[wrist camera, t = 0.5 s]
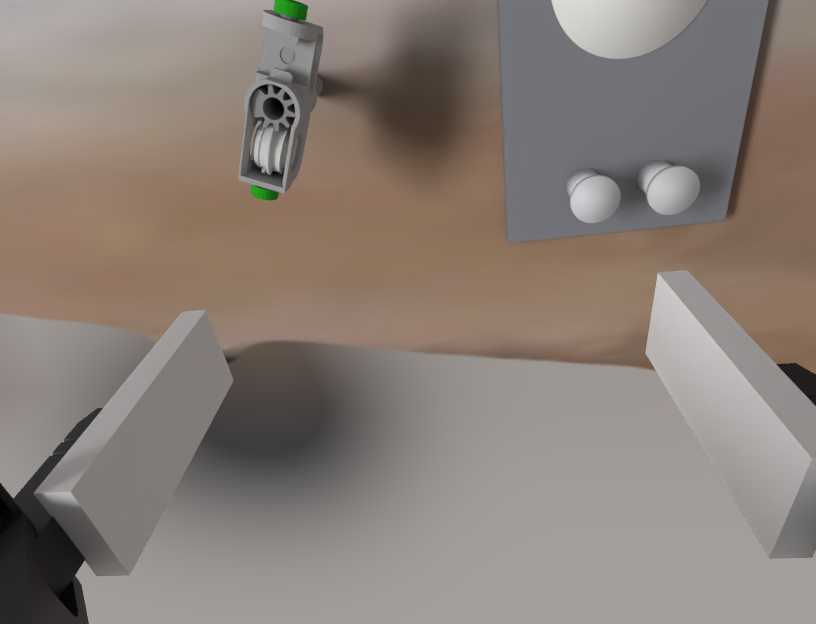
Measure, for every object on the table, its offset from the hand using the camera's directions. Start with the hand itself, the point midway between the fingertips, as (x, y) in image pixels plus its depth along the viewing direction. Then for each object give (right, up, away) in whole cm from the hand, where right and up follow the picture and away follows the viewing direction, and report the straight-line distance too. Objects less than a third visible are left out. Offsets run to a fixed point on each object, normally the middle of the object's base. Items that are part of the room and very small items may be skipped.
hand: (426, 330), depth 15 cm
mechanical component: (-7, +16, +20) cm, 27 cm away
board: (+14, +17, +19) cm, 29 cm away
